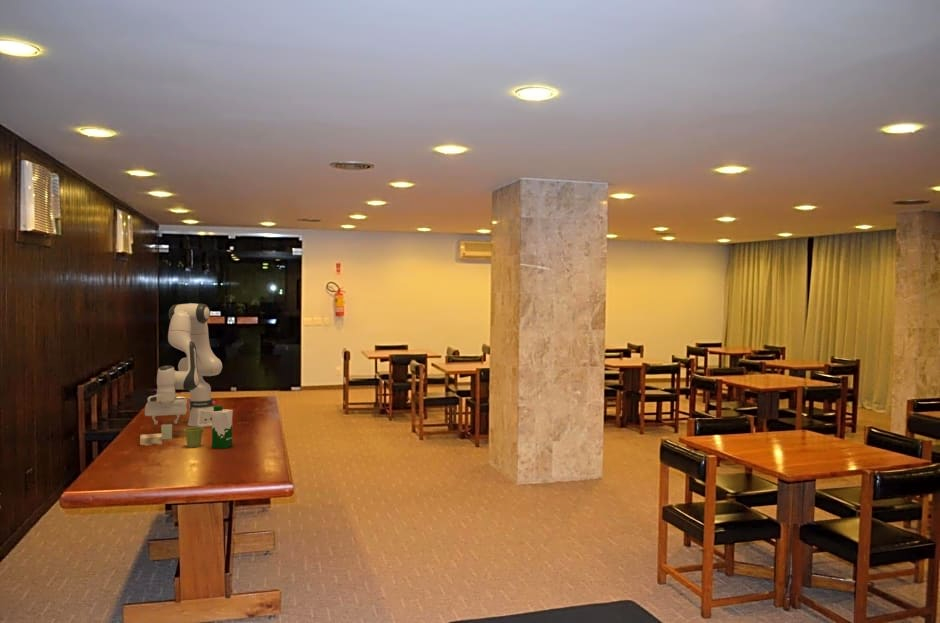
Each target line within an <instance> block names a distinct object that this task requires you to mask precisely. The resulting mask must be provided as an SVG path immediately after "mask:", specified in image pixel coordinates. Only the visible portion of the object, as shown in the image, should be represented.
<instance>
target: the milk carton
mask: <svg viewBox="0 0 940 623" xmlns="http://www.w3.org/2000/svg"><path fill="white" fill-rule="evenodd" d="M233 413H234V409H228V408H227V409H224V408H223V405H214V410H213V411H211V417H212V426H211V449H220V450H221V449H224V450H225V449H228V448H230V446H231V447H233Z"/></svg>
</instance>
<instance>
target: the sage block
mask: <svg viewBox="0 0 940 623" xmlns="http://www.w3.org/2000/svg"><path fill="white" fill-rule="evenodd" d="M160 426H161V428H160V429H161V433H162V440H172V439H173V423H164V424H163V423H162V424H161V425H160Z"/></svg>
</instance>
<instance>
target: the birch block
mask: <svg viewBox="0 0 940 623" xmlns="http://www.w3.org/2000/svg"><path fill="white" fill-rule="evenodd" d="M153 444H158V445H163V439H162V433H148V434H140V436H139V446H140V445H145V446H154V445H153Z"/></svg>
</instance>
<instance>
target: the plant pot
mask: <svg viewBox="0 0 940 623" xmlns="http://www.w3.org/2000/svg"><path fill="white" fill-rule="evenodd" d="M204 428H205V427H195V426H192V427H187V428H184V429H183V432H184V435H185V440H186V445H187V447H188V448H199V447H200V446H201V444H202V435H203V431H204Z"/></svg>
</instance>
